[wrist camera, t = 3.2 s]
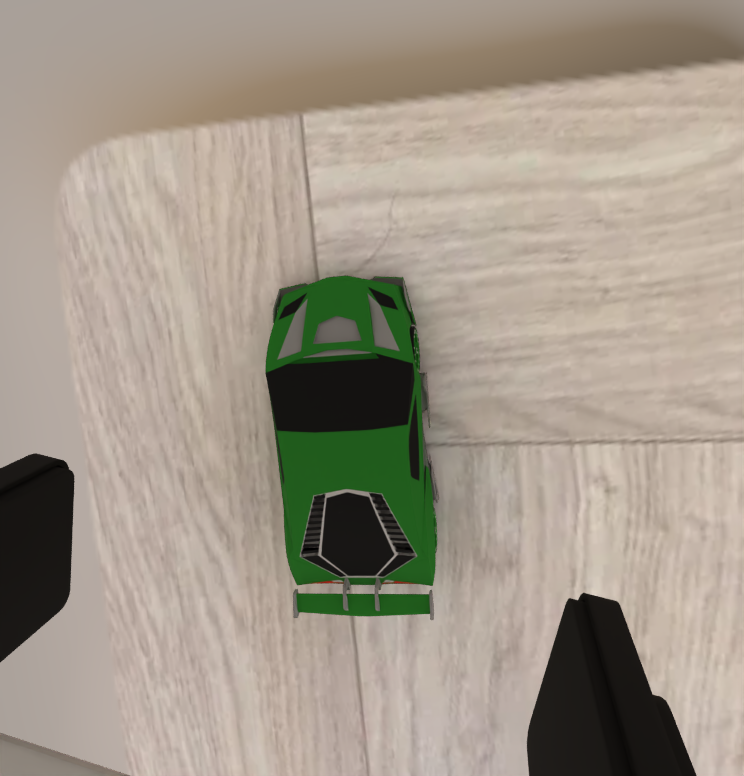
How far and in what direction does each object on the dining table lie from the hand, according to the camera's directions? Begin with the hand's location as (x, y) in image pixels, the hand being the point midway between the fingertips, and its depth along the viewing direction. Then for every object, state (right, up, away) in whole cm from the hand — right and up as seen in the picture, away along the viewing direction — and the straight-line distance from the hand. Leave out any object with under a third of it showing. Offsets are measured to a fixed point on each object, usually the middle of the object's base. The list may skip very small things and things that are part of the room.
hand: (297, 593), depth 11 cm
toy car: (+1, +2, +8) cm, 8 cm away
